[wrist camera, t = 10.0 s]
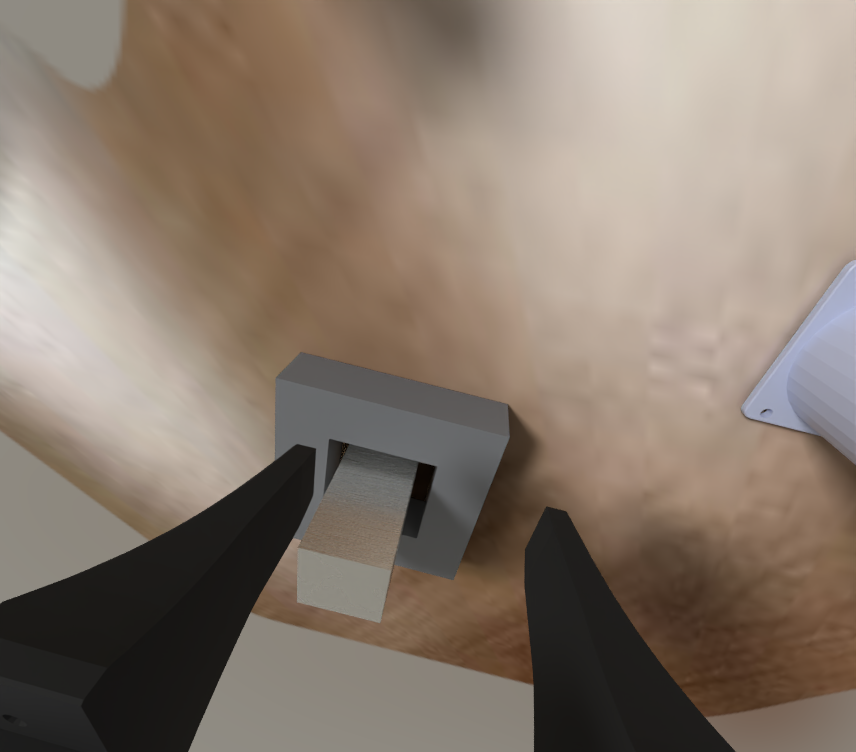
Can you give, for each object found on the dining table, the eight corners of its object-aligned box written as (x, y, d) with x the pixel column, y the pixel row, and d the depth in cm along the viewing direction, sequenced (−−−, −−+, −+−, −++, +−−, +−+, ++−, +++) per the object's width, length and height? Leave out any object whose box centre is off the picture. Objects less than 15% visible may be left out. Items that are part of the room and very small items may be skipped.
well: (507, 404, 22) (509, 437, 20) (457, 540, 28) (453, 580, 26) (300, 352, 22) (275, 377, 20) (294, 498, 29) (274, 532, 26)
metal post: (424, 436, 24) (391, 570, 16) (414, 483, 26) (380, 623, 18) (360, 422, 24) (297, 547, 17) (355, 469, 26) (296, 602, 19)
